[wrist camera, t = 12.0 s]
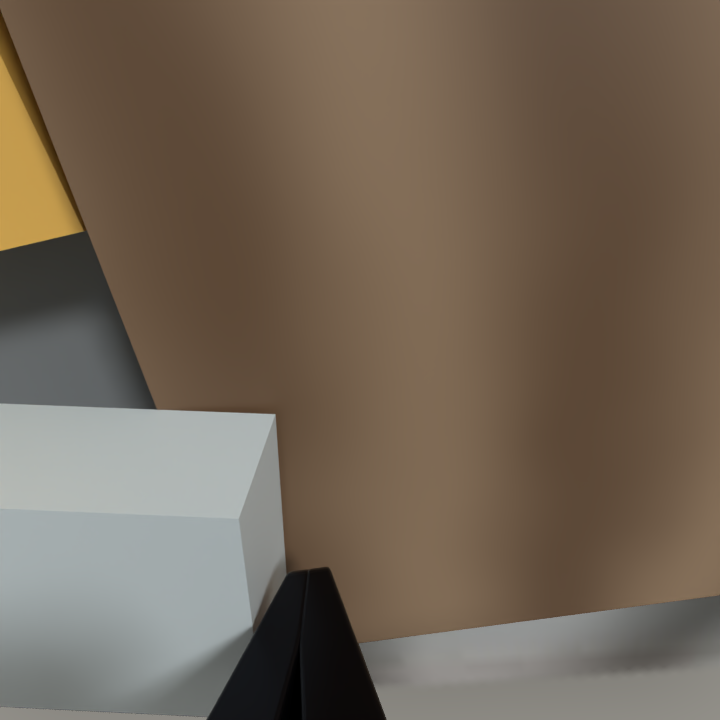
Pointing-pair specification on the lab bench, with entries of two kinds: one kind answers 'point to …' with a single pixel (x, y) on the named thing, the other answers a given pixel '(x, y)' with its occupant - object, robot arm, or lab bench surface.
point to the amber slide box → (29, 163)
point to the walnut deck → (422, 276)
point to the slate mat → (64, 330)
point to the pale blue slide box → (133, 554)
